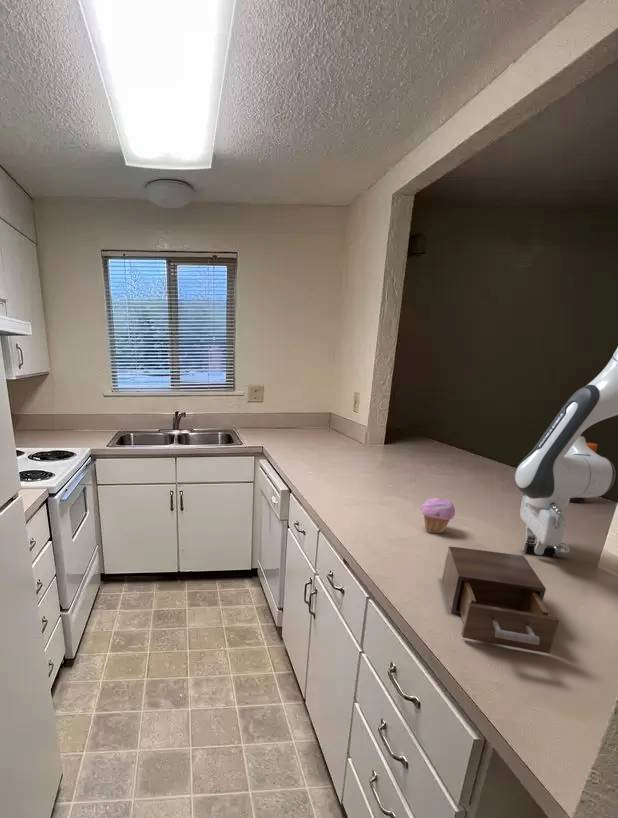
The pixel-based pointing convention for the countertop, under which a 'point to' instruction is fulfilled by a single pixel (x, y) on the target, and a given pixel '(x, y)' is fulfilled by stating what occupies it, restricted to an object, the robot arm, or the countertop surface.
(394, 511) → the countertop surface
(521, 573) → the cabinet
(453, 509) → the cupcake
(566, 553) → the scoop
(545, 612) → the drawer
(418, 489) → the countertop surface
